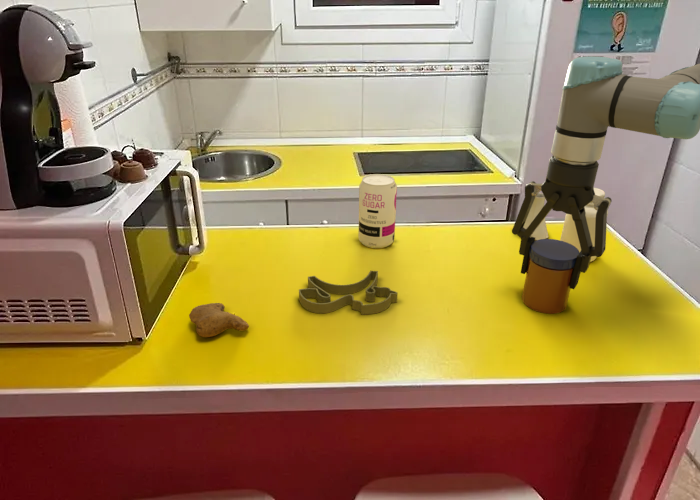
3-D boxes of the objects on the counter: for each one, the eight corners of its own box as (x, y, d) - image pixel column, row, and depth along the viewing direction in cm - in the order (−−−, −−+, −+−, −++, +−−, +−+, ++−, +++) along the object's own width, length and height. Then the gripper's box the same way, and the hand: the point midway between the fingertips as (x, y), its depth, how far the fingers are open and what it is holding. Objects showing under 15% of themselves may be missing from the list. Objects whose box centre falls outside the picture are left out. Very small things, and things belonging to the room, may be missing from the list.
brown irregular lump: (249, 337, 87) (248, 319, 86) (188, 344, 85) (185, 326, 84) (248, 305, 96) (246, 288, 94) (192, 310, 94) (189, 293, 92)
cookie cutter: (386, 277, 105) (386, 269, 104) (401, 311, 94) (401, 301, 93) (297, 285, 102) (296, 276, 101) (302, 320, 92) (302, 311, 91)
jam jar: (572, 314, 94) (585, 263, 89) (528, 313, 94) (538, 262, 89) (558, 290, 101) (569, 242, 96) (516, 289, 101) (525, 241, 96)
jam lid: (583, 256, 94) (585, 246, 93) (570, 274, 88) (572, 265, 87) (537, 243, 98) (539, 234, 97) (522, 260, 92) (523, 251, 92)
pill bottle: (550, 254, 114) (564, 190, 107) (568, 243, 119) (582, 181, 112) (586, 267, 109) (602, 201, 102) (602, 255, 114) (619, 191, 107)
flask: (510, 229, 126) (517, 190, 121) (537, 226, 127) (545, 188, 122) (525, 242, 119) (532, 202, 115) (554, 239, 121) (562, 199, 116)
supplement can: (389, 232, 124) (391, 172, 117) (397, 248, 116) (401, 185, 109) (355, 234, 122) (356, 174, 115) (362, 250, 115) (363, 187, 108)
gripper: (649, 164, 82) (614, 287, 92) (519, 142, 93) (501, 254, 103) (641, 177, 76) (604, 306, 87) (504, 151, 87) (486, 269, 98)
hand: (548, 277), depth 95 cm, fingers closed on jam lid, 8 cm apart
